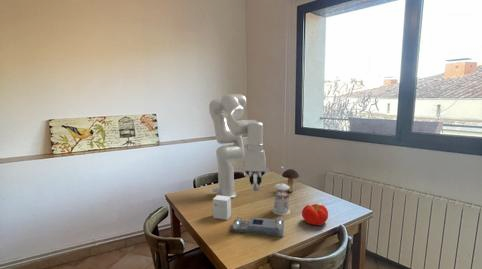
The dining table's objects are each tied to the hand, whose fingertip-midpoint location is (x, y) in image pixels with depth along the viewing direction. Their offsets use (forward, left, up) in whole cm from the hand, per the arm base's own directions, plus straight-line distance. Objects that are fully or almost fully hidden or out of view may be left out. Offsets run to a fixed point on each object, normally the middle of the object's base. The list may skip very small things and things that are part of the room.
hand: (255, 183), depth 132 cm
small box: (-18, +1, -20) cm, 27 cm away
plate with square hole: (+2, -9, -20) cm, 22 cm away
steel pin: (0, 0, -3) cm, 3 cm away
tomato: (+29, +3, -20) cm, 35 cm away
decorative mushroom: (+16, +42, -20) cm, 49 cm away
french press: (+12, +14, -20) cm, 27 cm away
